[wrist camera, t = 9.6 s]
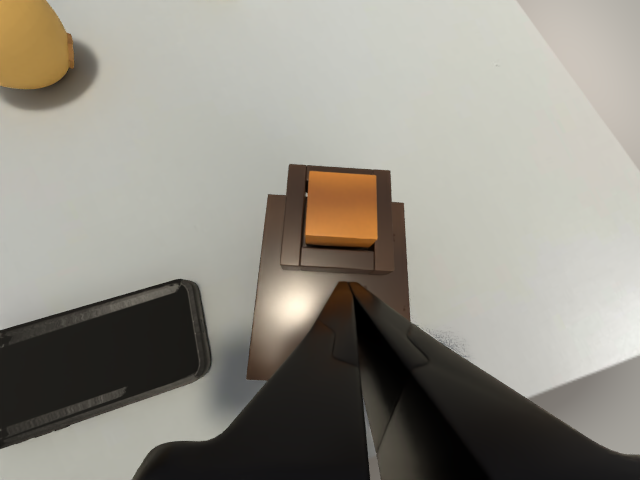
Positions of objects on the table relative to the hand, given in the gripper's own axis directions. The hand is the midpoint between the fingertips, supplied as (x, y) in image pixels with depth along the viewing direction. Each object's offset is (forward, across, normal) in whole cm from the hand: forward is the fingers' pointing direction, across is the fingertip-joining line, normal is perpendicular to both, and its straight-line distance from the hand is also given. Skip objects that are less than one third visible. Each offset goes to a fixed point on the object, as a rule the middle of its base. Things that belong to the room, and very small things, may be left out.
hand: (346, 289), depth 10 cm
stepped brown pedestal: (+8, 0, -7) cm, 11 cm away
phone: (+4, -17, -11) cm, 21 cm away
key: (+6, 0, +1) cm, 6 cm away
